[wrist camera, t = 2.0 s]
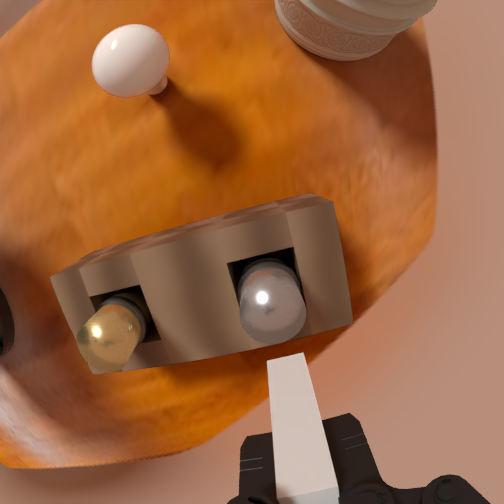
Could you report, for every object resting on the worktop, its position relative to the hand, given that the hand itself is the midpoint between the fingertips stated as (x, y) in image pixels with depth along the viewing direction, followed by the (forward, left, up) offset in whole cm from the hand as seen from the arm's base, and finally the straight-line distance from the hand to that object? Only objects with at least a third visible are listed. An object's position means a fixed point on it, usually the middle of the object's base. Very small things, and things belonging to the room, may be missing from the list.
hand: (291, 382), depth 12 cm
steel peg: (0, 0, -15) cm, 15 cm away
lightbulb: (-6, +20, -21) cm, 30 cm away
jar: (+14, +24, -21) cm, 35 cm away
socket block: (-6, 0, -21) cm, 22 cm away
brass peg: (-12, 0, -15) cm, 19 cm away
